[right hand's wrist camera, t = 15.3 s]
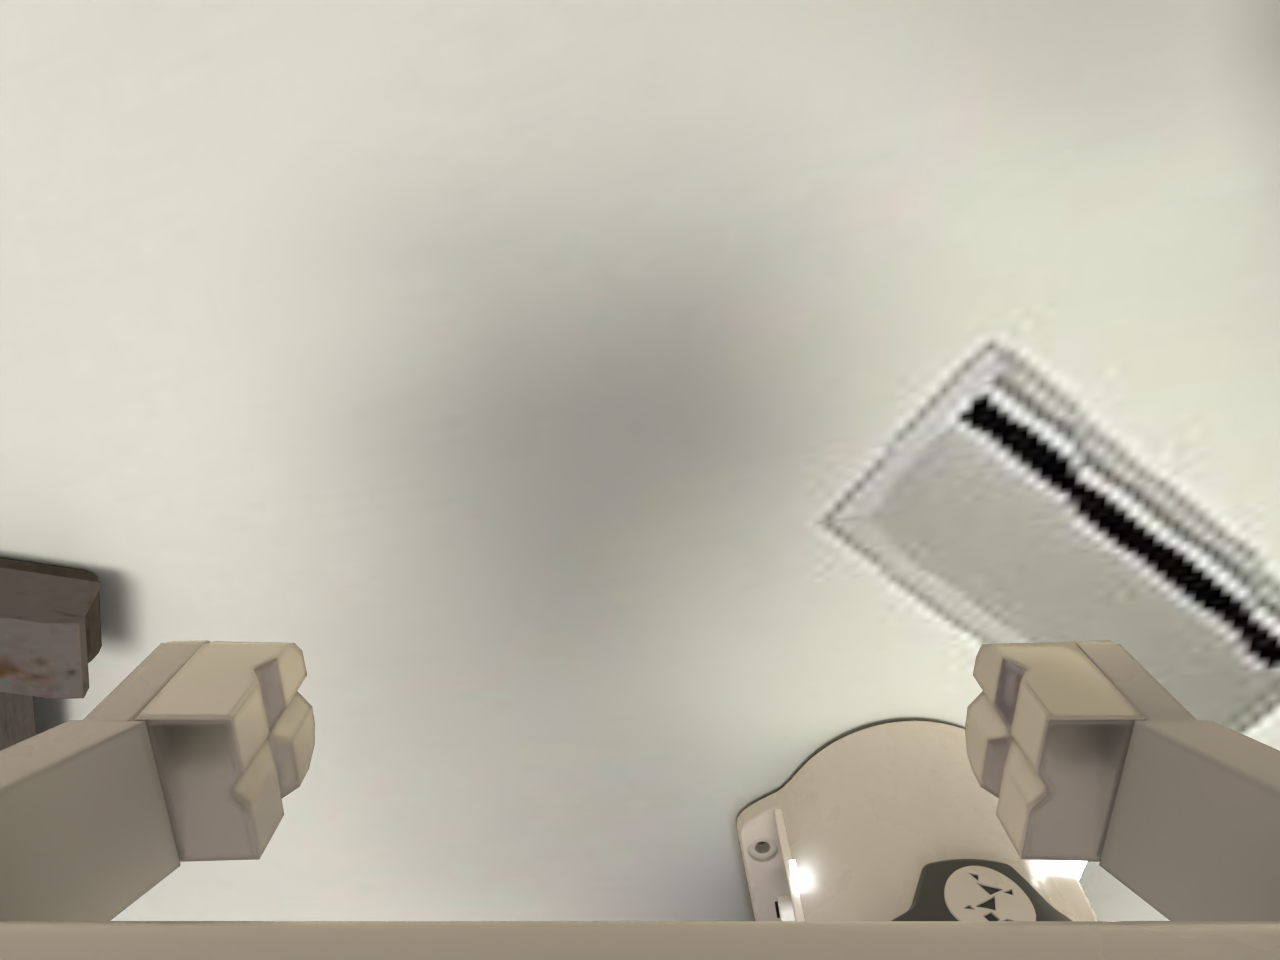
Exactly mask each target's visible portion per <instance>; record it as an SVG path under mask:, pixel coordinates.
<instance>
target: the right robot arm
mask: <svg viewBox="0 0 1280 960" xmlns="http://www.w3.org/2000/svg"><path fill="white" fill-rule="evenodd" d="M306 676H307V672H306V667H305V662H304V657H303V652H302V650H301V649H300V648H299V647H298V646H297V645H296V644H295V643H274V642H223V641H214V642H210V641H172V642H166V643H161V644H160V645H159V646H158V647H157V648H156V649H155V650H154V651H153V652H152V653H151V654H150V655H149V656H148V657H147V658H146V659H145V660H144V661H143V662H142V663H141V664H140V665H139V666H138V667H137V668H136V669H135V670H134V671H133V672H132V673H131V674H130V675H129V676H127V677H126V678H125V679H124V680H123V681H122V682H121V683H120V684H119V685H118V686H117V687H116V688H115V689H114V690H113V691H112V692H111V693H110V694H109V695H108V696H107V697H106V698H105V699H104V700H103V701H102V702H101V703H100V704H99V705H98V706H97V707H96V708H95V709H94V710H93V711H92V712H91V713H90V714H89V715H88V716H87V717H86V718H85V719H84V720H83V721H67V722H64V723H62V724H60V725H58V726H55V727H53V728H51V729H49V730H46V731H44V732H42V733H40V734H37V735H35V736H33V737H31V738H28V739H26V740H24V741H21V742H19V743H17V744H15V745H12V746H10V747H8V748H6V749H3V750H1V751H0V960H1280V751H1279V750H1276V749H1274V748H1272V747H1270V746H1267V745H1265V744H1263V743H1261V742H1258V741H1256V740H1254V739H1252V738H1249V737H1247V736H1245V735H1243V734H1240V733H1238V732H1236V731H1234V730H1231V729H1229V728H1227V727H1225V726H1222V725H1220V724H1218V723H1216V722H1213V721H1197V720H1196V719H1195V718H1194V717H1193V716H1192V715H1191V714H1190V713H1189V712H1188V711H1187V710H1186V709H1185V708H1184V707H1183V706H1182V705H1181V704H1180V703H1179V702H1178V701H1177V700H1176V699H1175V698H1174V697H1173V696H1172V695H1171V694H1170V693H1169V692H1168V691H1167V690H1166V689H1165V688H1164V687H1163V686H1162V685H1161V684H1160V683H1159V682H1158V681H1157V680H1156V679H1155V678H1154V677H1153V676H1152V675H1151V674H1150V673H1149V672H1148V671H1147V670H1146V669H1145V668H1144V667H1143V666H1142V665H1140V664H1139V663H1138V662H1137V661H1136V660H1135V659H1134V658H1133V657H1132V656H1131V655H1130V654H1129V653H1128V652H1127V651H1126V650H1125V649H1124V648H1123V647H1122V646H1121V645H1120V644H1117V643H1115V642H1112V641H1109V640H1105V641H1079V642H1046V643H1006V644H983V645H981V648H980V650H979V652H978V654H977V656H976V661H975V666H974V672H973V676H974V677H975V679H976V680H977V682H978V684H979V685H980V687H981V688H982V690H983V692H982V693H981V694H980V695H979V696H978V697H977V698H976V699H975V700H974V701H973V702H972V703H971V704H970V705H969V706H968V709H967V717H966V725H965V729H963V728H960V727H956V726H953V725H949V724H944V723H938V722H930V721H900V722H891V723H885V724H880V725H876V726H872V727H868V728H865V729H862V730H859V731H857V732H854V733H852V734H849V735H847V736H845V737H843V738H841V739H839V740H837V741H835V742H833V743H832V744H830V745H828V746H827V747H825V748H824V749H822V750H821V751H820V752H818V753H817V754H816V755H814V756H813V757H812V758H811V759H810V760H809V761H808V762H807V763H806V764H805V765H803V766H802V768H801V769H800V770H799V771H798V772H797V773H796V774H795V775H794V776H793V778H792V779H791V780H790V781H789V782H788V783H787V784H786V785H785V786H784V787H782V788H781V789H780V790H779V791H777V792H775V793H773V794H771V795H769V796H767V797H765V798H763V799H761V800H759V801H757V802H755V803H753V804H752V805H750V806H749V807H747V808H746V809H744V810H743V811H742V812H741V813H740V815H739V816H738V818H737V831H738V836H739V841H740V847H741V852H742V857H743V862H744V867H745V872H746V877H747V882H748V888H749V893H750V898H751V903H752V908H753V913H754V918H755V921H110V920H112V919H113V918H114V917H115V916H117V915H118V914H119V913H120V912H122V911H123V910H124V909H126V908H127V907H128V906H129V905H131V904H132V903H133V902H135V901H136V900H137V899H138V898H140V897H141V896H142V895H143V894H145V893H146V892H147V891H149V890H150V889H151V888H152V887H154V886H155V885H156V884H157V883H159V882H160V881H161V880H163V879H164V878H165V877H166V876H168V875H169V874H170V873H172V872H173V871H174V870H175V869H177V868H178V867H179V866H180V861H215V860H250V859H260V857H261V855H262V853H263V852H264V850H265V848H266V846H267V845H268V843H269V841H270V839H271V837H272V836H273V834H274V832H275V830H276V828H277V827H278V825H279V823H280V821H281V819H282V818H283V816H284V811H283V805H282V800H281V798H283V797H285V796H286V795H288V794H289V793H291V792H292V791H294V790H295V789H297V788H298V787H300V785H301V783H302V781H303V779H304V777H305V775H306V773H307V771H308V769H309V766H310V762H311V757H312V753H313V749H314V745H315V722H314V715H313V708H312V706H311V705H310V704H309V703H308V702H307V701H306V700H305V699H304V698H303V697H302V696H301V695H300V694H299V693H298V692H297V690H298V688H299V687H300V685H301V684H302V682H303V680H304V679H305V677H306ZM759 842H765V843H763V844H758V843H759ZM1087 861H1100V864H1099V865H1100V866H1101V867H1102V868H1104V869H1105V870H1106V871H1108V872H1109V873H1110V874H1111V875H1113V876H1114V877H1115V878H1116V879H1118V880H1119V881H1120V882H1122V883H1123V884H1124V885H1125V886H1127V887H1128V888H1129V889H1130V890H1132V891H1133V892H1134V893H1136V894H1137V895H1138V896H1139V897H1141V898H1142V899H1143V900H1144V901H1146V902H1147V903H1148V904H1150V905H1151V906H1152V907H1153V908H1155V909H1156V910H1157V911H1159V912H1160V913H1161V914H1162V915H1164V916H1165V917H1166V918H1167V919H1169V920H1170V921H1098V919H1097V917H1096V915H1095V913H1094V911H1093V909H1092V907H1091V905H1090V903H1089V901H1088V899H1087V897H1086V895H1085V893H1084V891H1083V888H1082V886H1081V884H1080V882H1079V879H1080V876H1081V874H1082V872H1083V870H1084V868H1085V865H1086V863H1087Z"/></svg>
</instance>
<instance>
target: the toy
mask: <svg viewBox="0 0 1280 960" xmlns="http://www.w3.org/2000/svg"><path fill="white" fill-rule="evenodd" d="M101 586H102V583H101V582H98V577H97V576H96V575H95V574H94V573H92V572H89V571H85V570H79V569H72V568H66V567H59V566H52V565H45V564H39V563H32V562H25V561H18V560H11V559H5V558H0V751H1V750H3V749H6V748H8V747H10V746H12V745H15V744H17V743H19V742H21V741H24V740H26V739H28V738H31V737H33V736H35V735H36V729H35V718H34V707H33V696H34V697H42V698H49V699H61V698H84V697H85V695H86V693H87V691H88V689H89V676H88V663H89V662H90V661H92V660H93V658H94V657H95V656H96V655H97V654H98V653H99V651H100V648H101V646H102V642H101V624H100V606H99V590H100V588H101Z"/></svg>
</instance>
